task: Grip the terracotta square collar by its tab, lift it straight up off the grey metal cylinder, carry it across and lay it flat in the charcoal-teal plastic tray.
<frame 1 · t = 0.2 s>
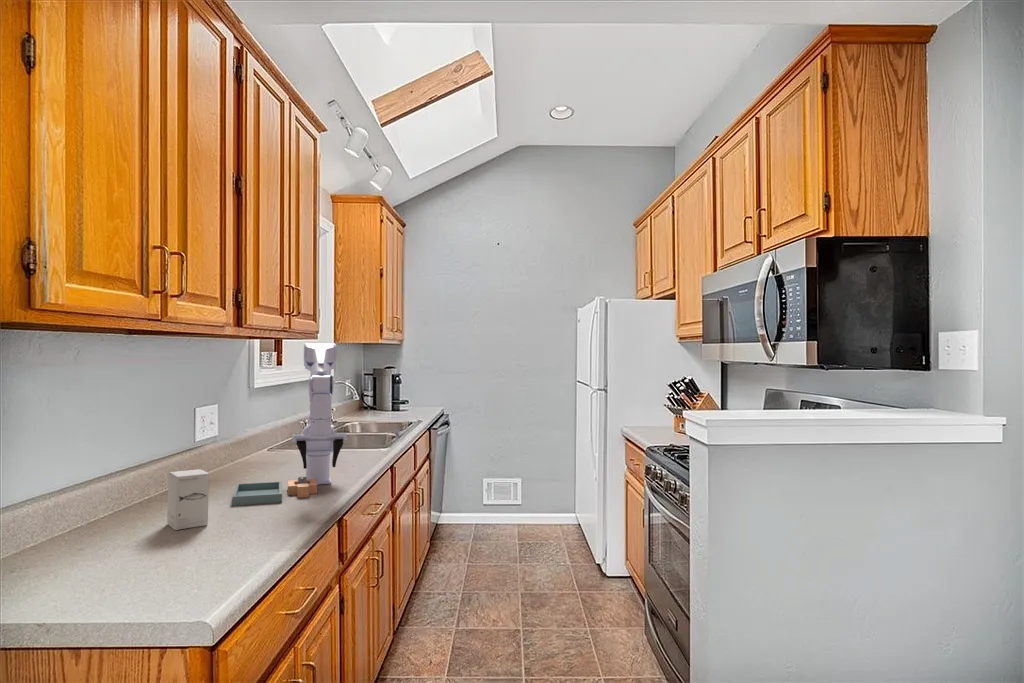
hand: (319, 467, 177), 10 cm above the countertop, fingers open, 7 cm apart
collar: (302, 491, 189), on the countertop
grey metal cylinder: (302, 491, 189), on the countertop
supplement box: (187, 525, 153), on the countertop
tray: (258, 496, 181), on the countertop
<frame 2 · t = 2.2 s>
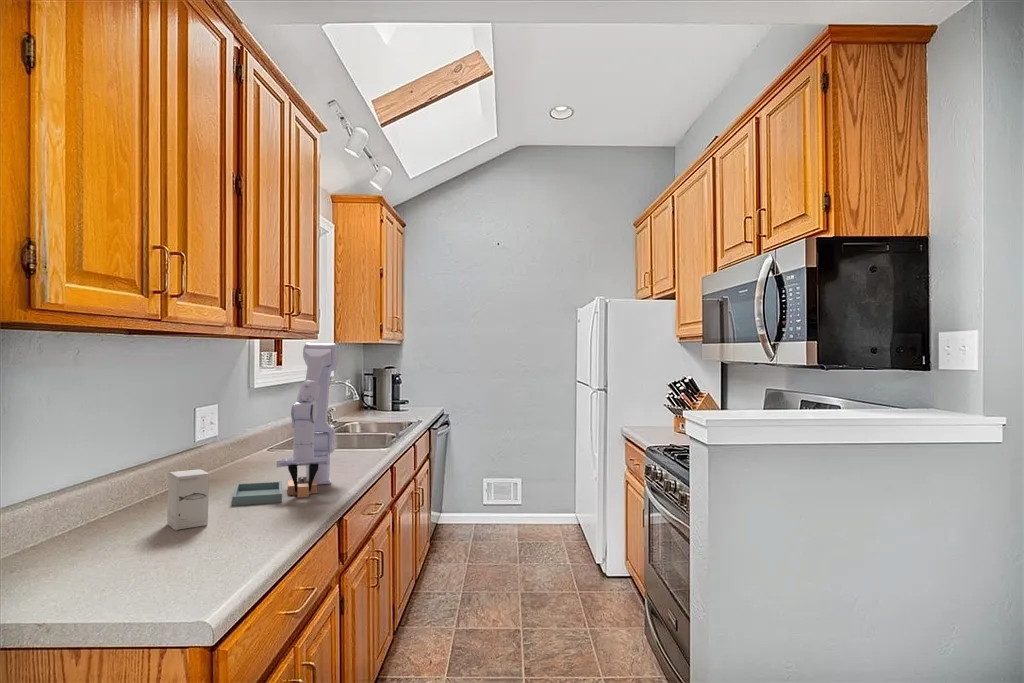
hand: (302, 490, 184), 1 cm above the countertop, fingers closed on collar, 3 cm apart
collar: (302, 491, 189), on the countertop, touching gripper
everything else where it was.
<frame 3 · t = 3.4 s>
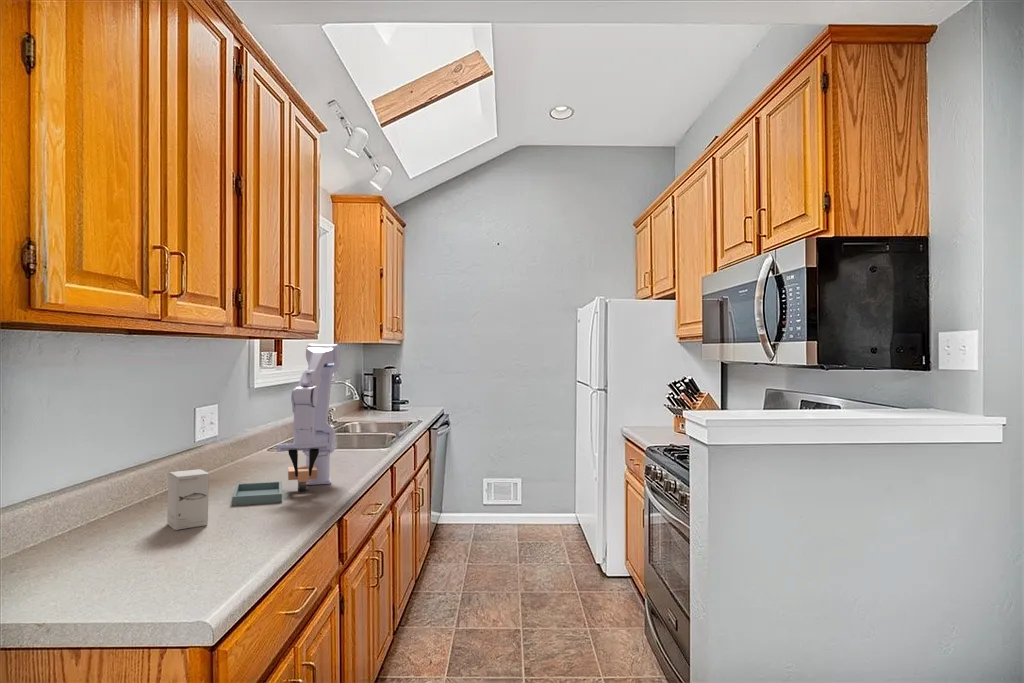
hand: (303, 475, 184), 6 cm above the countertop, fingers closed on collar, 3 cm apart
collar: (302, 476, 189), point 4 cm above the countertop, touching gripper
everything else where it was.
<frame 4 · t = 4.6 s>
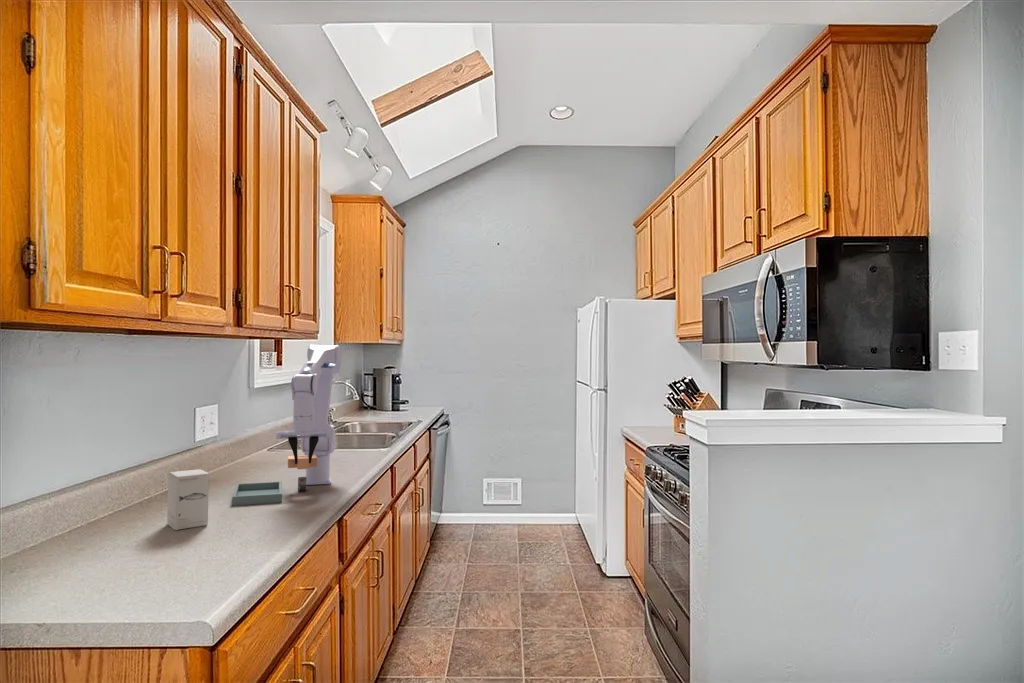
hand: (302, 463, 183), 9 cm above the countertop, fingers closed on collar, 3 cm apart
collar: (302, 465, 189), point 8 cm above the countertop, touching gripper
everything else where it was.
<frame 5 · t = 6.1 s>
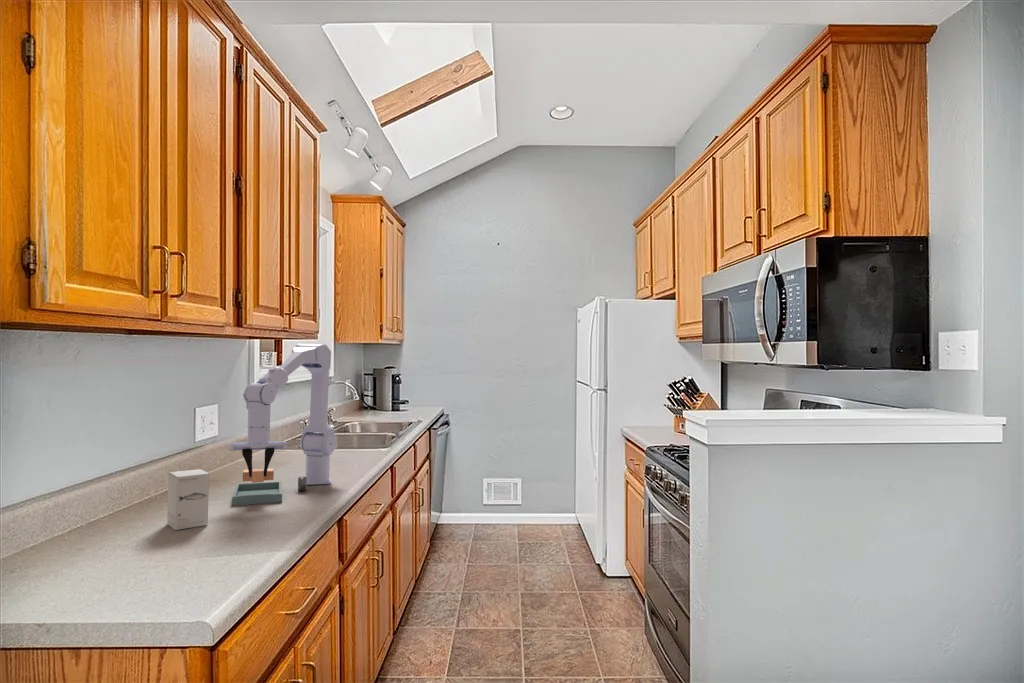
hand: (257, 475, 176), 7 cm above the countertop, fingers closed on collar, 3 cm apart
collar: (258, 479, 181), point 5 cm above the countertop, tilted 6°, touching gripper
everything else where it was.
when the fingers open (3 cm above the countertop, at t = 7.0 s): collar stays where it is, resting on tray.
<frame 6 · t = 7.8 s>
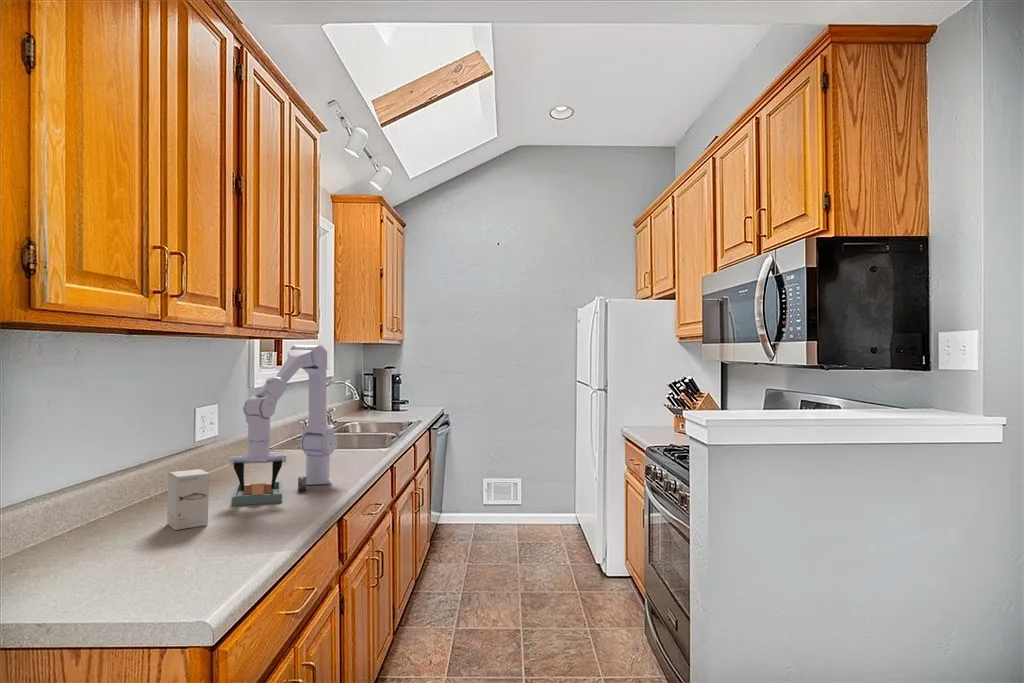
hand: (257, 489, 176), 3 cm above the countertop, fingers open, 7 cm apart
collar: (258, 492, 181), point 1 cm above the countertop, tilted 9°, touching tray
everything else where it was.
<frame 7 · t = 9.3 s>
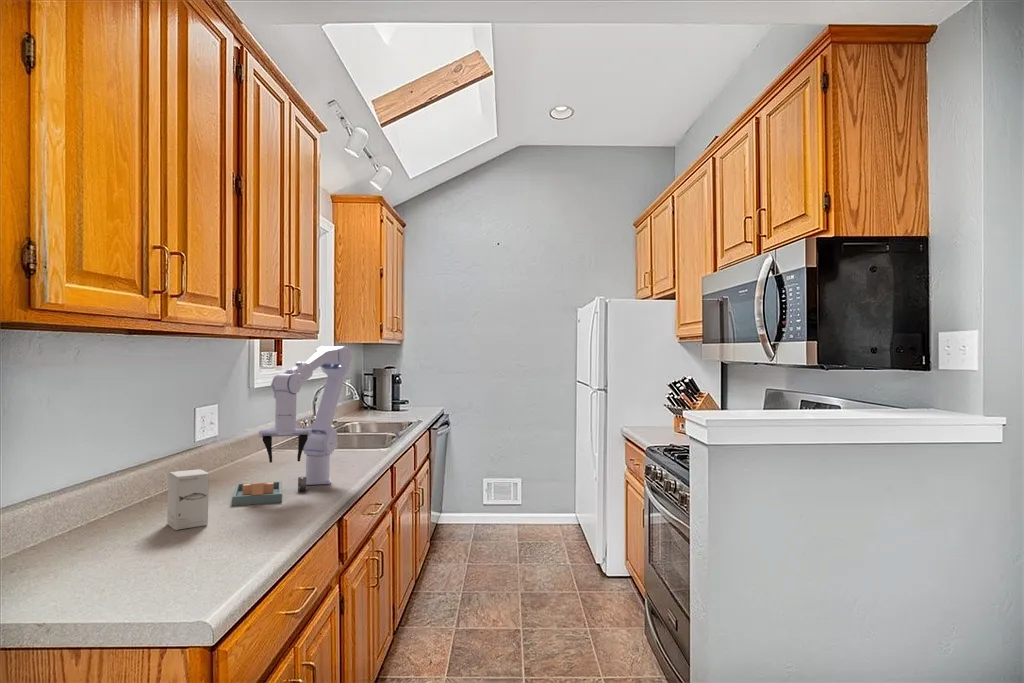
hand: (284, 461, 186), 9 cm above the countertop, fingers open, 7 cm apart
nothing on the countertop moved.
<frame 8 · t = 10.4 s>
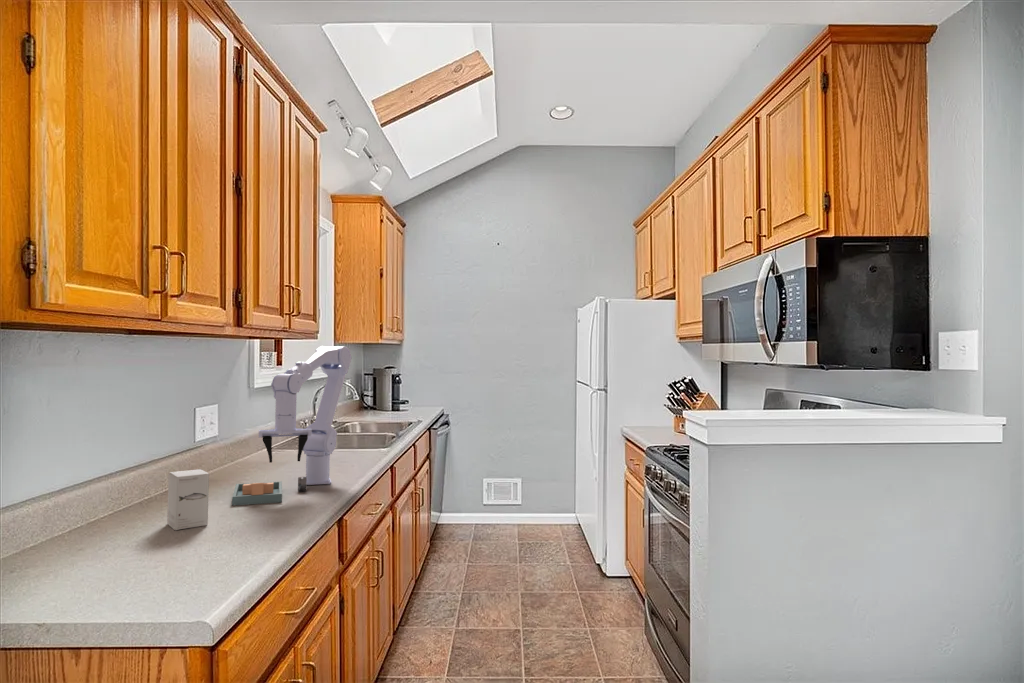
hand: (284, 461, 186), 9 cm above the countertop, fingers open, 7 cm apart
nothing on the countertop moved.
at the end: collar 0.2 cm off-centre on the tray, point 1.1 cm above the tray's base; collar tilted 9°; the gripper is holding nothing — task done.
